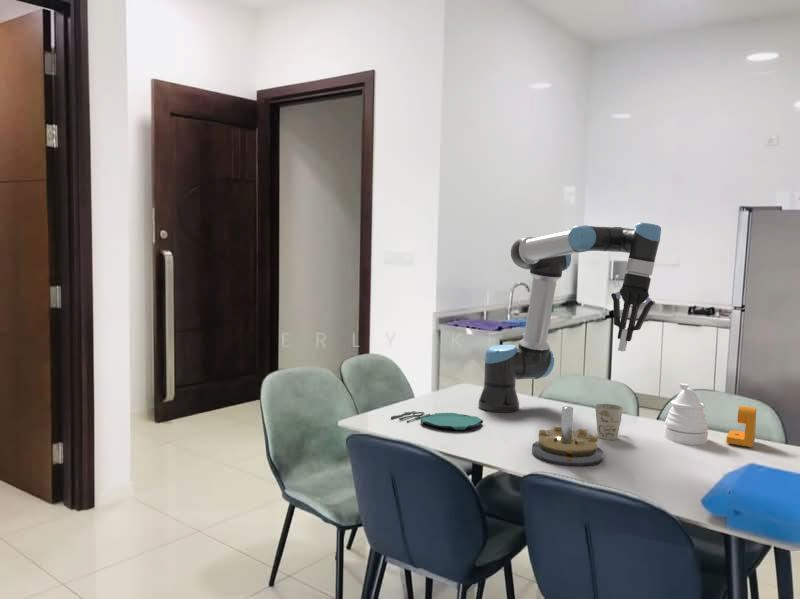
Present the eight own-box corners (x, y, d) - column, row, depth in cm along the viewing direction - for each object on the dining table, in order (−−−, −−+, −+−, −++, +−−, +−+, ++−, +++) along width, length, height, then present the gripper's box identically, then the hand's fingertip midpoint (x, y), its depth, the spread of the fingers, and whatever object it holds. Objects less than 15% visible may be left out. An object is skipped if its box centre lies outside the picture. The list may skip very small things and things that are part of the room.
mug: (589, 436, 215) (590, 406, 214) (606, 430, 224) (608, 400, 223) (613, 442, 209) (615, 411, 208) (630, 435, 218) (632, 405, 217)
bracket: (729, 437, 219) (732, 401, 218) (754, 441, 215) (757, 405, 214) (725, 445, 210) (728, 407, 209) (751, 449, 206) (754, 411, 205)
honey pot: (686, 446, 207) (689, 389, 206) (655, 435, 219) (658, 381, 218) (716, 442, 213) (719, 386, 211) (684, 432, 224) (687, 379, 223)
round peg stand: (528, 440, 199) (530, 397, 198) (577, 437, 204) (579, 395, 203) (556, 457, 183) (558, 410, 182) (609, 454, 188) (611, 408, 187)
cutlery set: (463, 436, 211) (463, 429, 211) (386, 421, 228) (386, 415, 228) (491, 424, 227) (491, 418, 227) (417, 412, 244) (417, 405, 244)
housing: (523, 459, 189) (524, 451, 188) (541, 441, 207) (541, 434, 207) (596, 471, 180) (597, 463, 180) (607, 452, 198) (608, 444, 198)
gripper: (663, 279, 200) (646, 355, 203) (620, 271, 208) (604, 344, 210) (657, 278, 194) (639, 356, 197) (613, 270, 201) (596, 345, 204)
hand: (621, 350), depth 203 cm, fingers closed
